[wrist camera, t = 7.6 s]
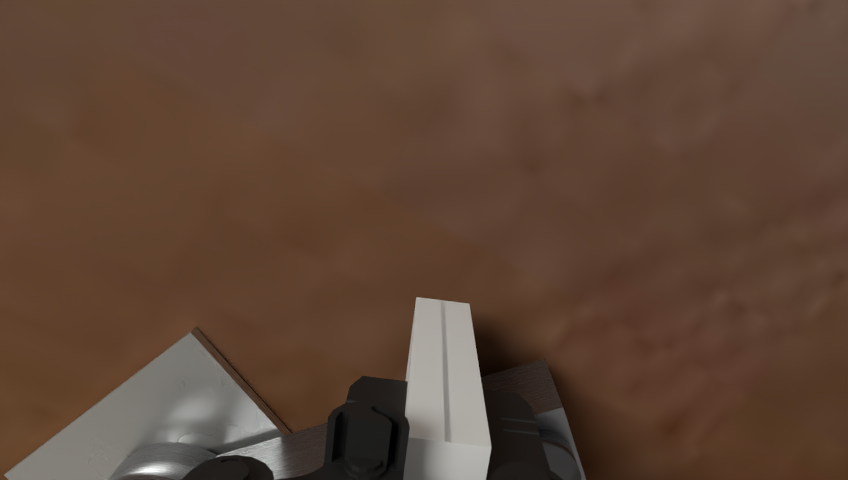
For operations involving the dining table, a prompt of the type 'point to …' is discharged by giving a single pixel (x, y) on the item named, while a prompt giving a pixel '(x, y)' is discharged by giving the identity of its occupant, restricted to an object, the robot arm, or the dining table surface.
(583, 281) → the dining table surface
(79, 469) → the pivot plate
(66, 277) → the dining table surface
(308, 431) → the latch bar
